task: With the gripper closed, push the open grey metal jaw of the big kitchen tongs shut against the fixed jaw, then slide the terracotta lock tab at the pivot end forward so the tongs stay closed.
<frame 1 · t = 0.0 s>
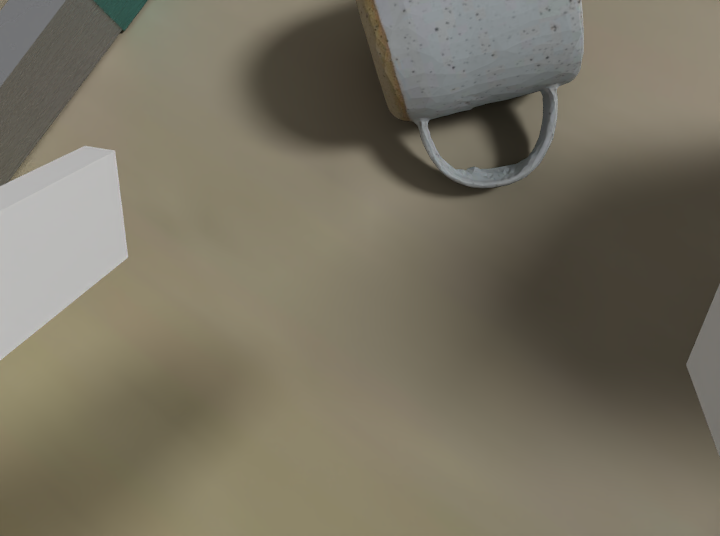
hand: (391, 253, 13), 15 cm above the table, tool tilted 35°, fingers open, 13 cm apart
ceramic mug: (475, 84, 30), on the table
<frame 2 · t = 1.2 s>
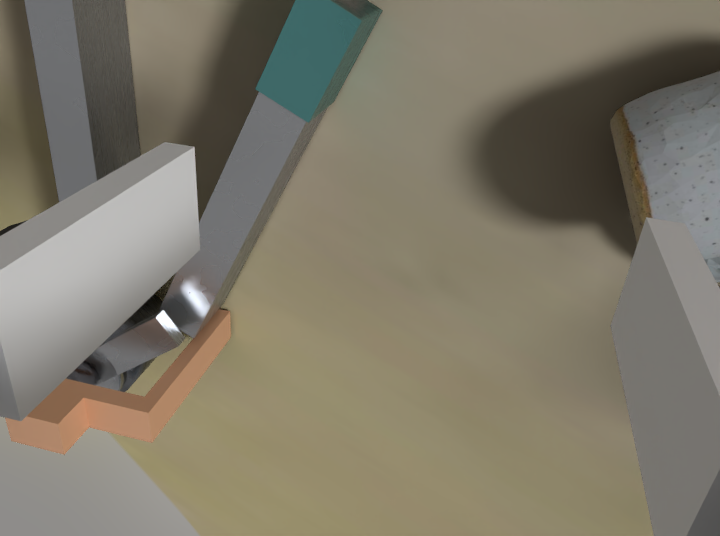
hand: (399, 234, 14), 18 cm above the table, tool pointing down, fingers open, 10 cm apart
tongs fixed jaw: (140, 318, 42), on the table
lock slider: (103, 362, 36), point 6 cm above the table, slide at 0.0 cm
ceramic mug: (718, 162, 29), on the table
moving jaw: (189, 218, 33), point 3 cm above the table, hinge at 25.0°
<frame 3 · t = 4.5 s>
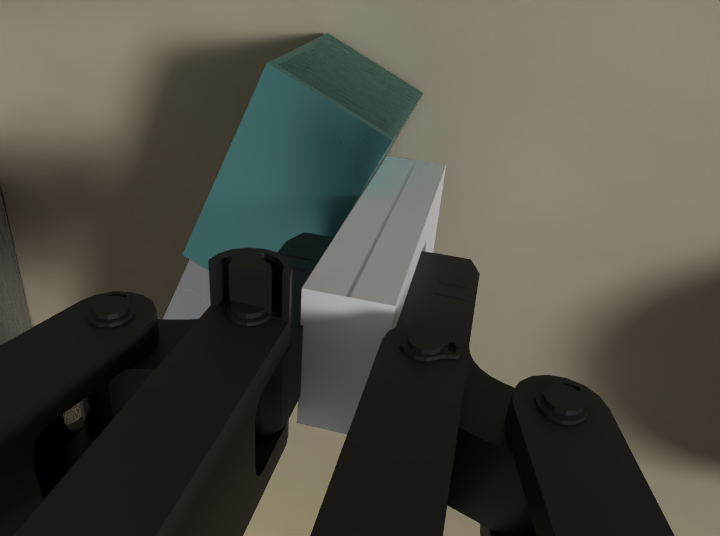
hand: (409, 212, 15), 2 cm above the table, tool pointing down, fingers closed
tongs fixed jaw: (51, 515, 28), on the table
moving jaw: (93, 430, 20), point 3 cm above the table, hinge at 24.8°, touching gripper
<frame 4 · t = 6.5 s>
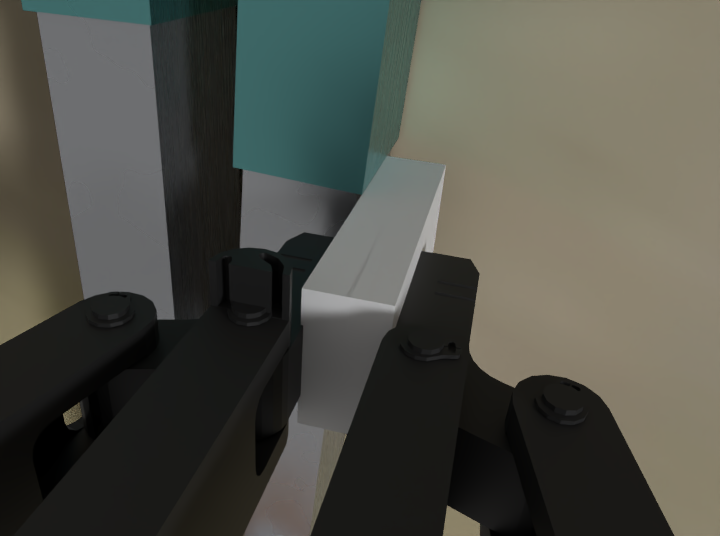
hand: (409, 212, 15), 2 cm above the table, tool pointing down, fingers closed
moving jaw: (218, 428, 18), point 3 cm above the table, hinge at 3.4°, touching gripper
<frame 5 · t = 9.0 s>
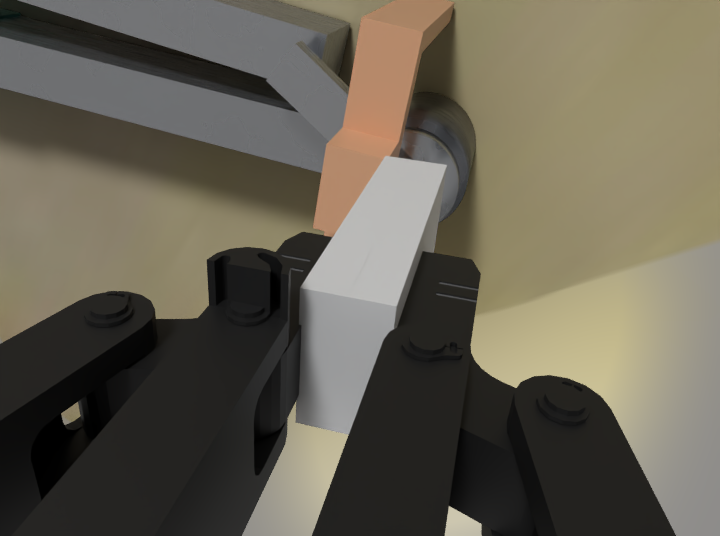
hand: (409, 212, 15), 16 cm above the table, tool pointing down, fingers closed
tongs fixed jaw: (425, 142, 31), on the table
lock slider: (383, 144, 25), point 6 cm above the table, slide at 0.0 cm
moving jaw: (186, 64, 29), point 3 cm above the table, hinge at 3.3°
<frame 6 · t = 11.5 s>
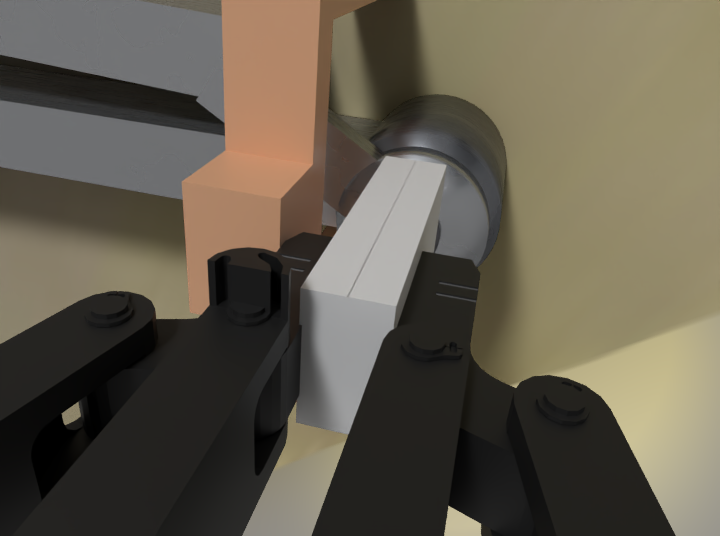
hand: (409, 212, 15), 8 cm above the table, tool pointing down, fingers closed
tongs fixed jaw: (436, 162, 23), on the table
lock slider: (317, 167, 18), point 6 cm above the table, slide at 1.6 cm, touching gripper
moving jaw: (102, 90, 21), point 3 cm above the table, hinge at 3.3°
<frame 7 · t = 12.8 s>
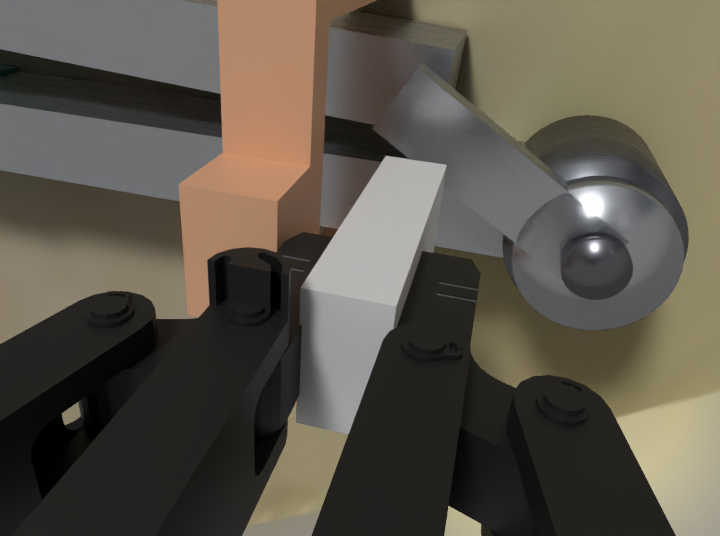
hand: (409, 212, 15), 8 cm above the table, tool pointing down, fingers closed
tongs fixed jaw: (579, 185, 22), on the table
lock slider: (316, 168, 18), point 6 cm above the table, slide at 6.8 cm, touching gripper
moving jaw: (243, 113, 20), point 3 cm above the table, hinge at 3.3°
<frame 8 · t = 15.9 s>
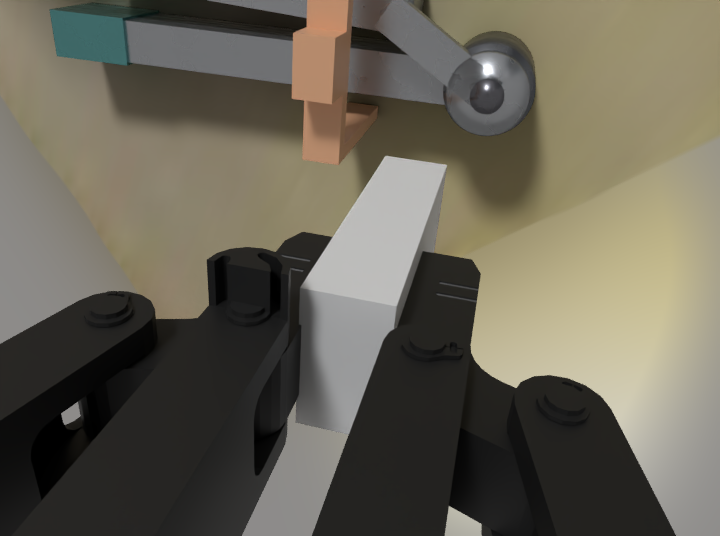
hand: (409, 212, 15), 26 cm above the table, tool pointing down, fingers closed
tongs fixed jaw: (492, 73, 39), on the table
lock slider: (344, 50, 34), point 6 cm above the table, slide at 6.8 cm
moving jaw: (303, 28, 37), point 3 cm above the table, hinge at 3.3°
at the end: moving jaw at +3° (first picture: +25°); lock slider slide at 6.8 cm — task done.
